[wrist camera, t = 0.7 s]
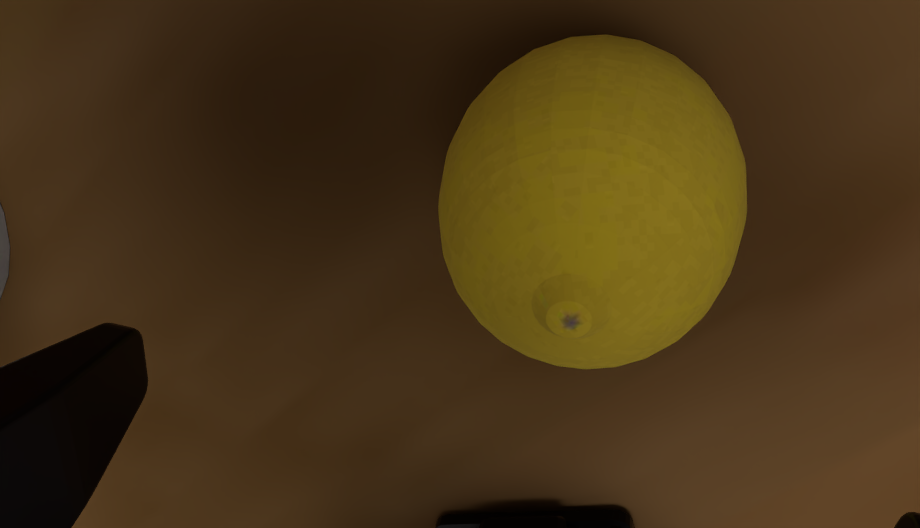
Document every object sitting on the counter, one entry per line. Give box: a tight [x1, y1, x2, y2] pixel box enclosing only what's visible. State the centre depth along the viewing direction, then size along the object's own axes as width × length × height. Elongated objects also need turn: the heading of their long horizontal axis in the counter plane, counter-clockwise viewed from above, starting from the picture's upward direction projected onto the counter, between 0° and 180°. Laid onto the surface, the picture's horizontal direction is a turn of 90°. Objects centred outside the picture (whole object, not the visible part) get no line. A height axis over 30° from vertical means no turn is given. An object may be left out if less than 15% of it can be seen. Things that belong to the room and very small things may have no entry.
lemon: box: [438, 34, 747, 369], centre depth 15 cm, size 6×6×8 cm
